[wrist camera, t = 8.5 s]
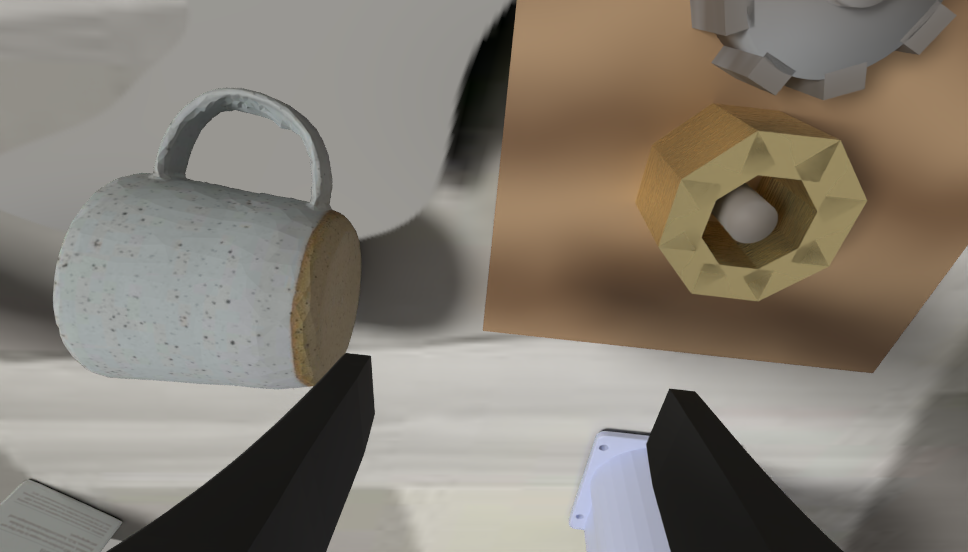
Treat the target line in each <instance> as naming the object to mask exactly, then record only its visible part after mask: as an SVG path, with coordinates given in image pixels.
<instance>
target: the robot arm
mask: <svg viewBox="0 0 968 552" xmlns="http://www.w3.org/2000/svg"><path fill="white" fill-rule="evenodd" d="M374 415H375V409H374V395H373V380H372V365H371V356H368V355H359V354H349V353H346V354H344V355H343V356H341V358H340V359H339V360H338V361H337V362H336V363H335V364H334V365H333V366H332V367H331V368H330V370H329V371H328V372H327V373H326V374H325V375H324V376H323V377H322V378H321V379H320V380H319V381H318V382H317V383H316V384H315V385H314V386H313V388H312V389H311V390H310V391H309V392H308V393H307V394H306V395H305V396H304V397H303V398H302V399H301V400H300V401H299V402H298V403H297V404H296V405H295V406H294V407H293V408H292V409H291V410H289V411H288V412H287V413H286V414H285V415H284V416H283V417H282V418H281V419H280V420H279V421H278V422H277V423H276V424H275V425H274V426H273V427H272V428H271V429H269V430H268V431H267V432H266V433H265V434H264V435H263V436H262V437H260V438H259V439H258V440H257V441H256V442H255V443H254V444H253V445H252V446H250V447H249V448H248V449H247V450H246V451H245V452H244V453H242V454H241V455H240V456H239V457H238V458H236V459H235V460H234V461H233V462H232V463H230V464H229V465H228V466H227V467H226V468H224V469H223V470H222V471H221V472H219V473H218V474H217V475H216V476H214V477H213V478H212V479H210V480H209V481H208V482H207V483H205V484H204V485H203V486H201V487H200V488H199V489H197V490H196V491H195V492H193V493H192V494H191V495H189V496H188V497H186V498H185V499H184V500H182V501H181V502H180V503H178V504H177V505H175V506H174V507H173V508H171V509H170V510H169V511H167V512H166V513H164V514H163V515H162V516H160V517H159V518H157V519H156V520H154V521H153V522H151V523H150V524H149V525H147V526H146V527H144V528H143V529H141V530H140V531H138V532H137V533H135V534H133V535H132V536H130V537H129V538H127V539H126V540H124V541H122V542H121V543H119V544H118V545H116V546H115V547H113V548H111V549H110V550H108V551H107V552H326V551H327V548H328V545H329V542H330V540H331V537H332V535H333V532H334V530H335V527H336V525H337V522H338V520H339V517H340V515H341V512H342V509H343V507H344V504H345V502H346V499H347V497H348V494H349V492H350V489H351V487H352V484H353V481H354V479H355V476H356V474H357V471H358V469H359V466H360V463H361V461H362V458H363V455H364V452H365V449H366V445H367V442H368V438H369V434H370V430H371V427H372V423H373V419H374ZM569 525H570V527H572V528H574V529H581V530H584V533H585V541H586V550H587V552H843V551H842V550H841V549H840V548H839V547H838V546H837V545H836V544H835V543H833V542H832V541H831V540H830V539H829V538H828V537H827V536H826V535H825V534H824V533H823V532H822V531H821V530H820V529H819V528H818V527H817V526H816V525H815V524H814V523H813V522H812V521H811V520H810V519H809V518H808V517H807V516H806V515H805V514H804V513H803V512H802V511H801V510H800V509H799V508H798V507H797V506H796V505H795V504H794V503H793V502H792V501H791V500H790V499H789V498H788V497H787V496H786V495H785V493H784V492H783V491H782V490H781V489H780V488H779V487H778V486H777V485H776V484H775V483H774V482H773V481H772V479H771V478H770V477H769V476H768V475H767V474H766V473H765V472H764V471H763V470H762V468H761V467H760V466H759V465H758V464H757V463H756V462H755V461H754V459H753V458H752V457H751V456H750V455H749V454H748V453H747V451H746V450H745V449H744V448H743V447H742V446H741V445H740V443H739V442H738V441H737V440H736V439H735V438H734V436H733V435H732V434H731V433H730V432H729V431H728V429H727V428H726V427H725V426H724V425H723V423H722V422H721V421H720V420H719V419H718V418H717V416H716V415H715V414H714V413H713V412H712V410H711V409H710V408H709V407H708V406H707V405H706V403H705V402H704V401H703V400H702V399H701V398H700V397H699V395H698V394H697V393H696V392H695V391H686V390H677V389H669V391H668V393H667V396H666V398H665V400H664V403H663V405H662V408H661V410H660V412H659V415H658V417H657V419H656V422H655V424H654V427H653V429H652V431H651V434H650V436H647V435H638V434H629V433H620V432H611V431H602V432H599V433H598V434H597V435H596V437H595V440H594V443H593V447H592V450H591V453H590V456H589V459H588V462H587V465H586V468H585V471H584V474H583V477H582V480H581V483H580V486H579V489H578V493H577V496H576V499H575V502H574V505H573V508H572V511H571V514H570V517H569Z"/></svg>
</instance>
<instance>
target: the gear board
mask: <svg viewBox="0 0 968 552" xmlns="http://www.w3.org/2000/svg"><path fill="white" fill-rule="evenodd" d="M712 103H715V104H724V105H733V106H742V107H751V108H760V109H769V110H778V111H781V112H783V113H785V114H787V115H789V116H791V117H794V118H796V119H798V120H800V121H802V122H804V123H806V124H808V125H810V126H812V127H814V128H816V129H819V130H821V131H823V132H825V133H827V134H829V135H831V136H833V137H835V138H837V139H839V140H841V142H842V145H843V147H844V149H845V151H846V154H847V156H848V158H849V160H850V163H851V165H852V167H853V169H854V172H855V174H856V176H857V179H858V181H859V183H860V185H861V188H862V190H863V192H864V194H865V197H866V199H867V202H866V204H865V206H864V207H863V209H862V211H861V213H860V214H859V216H858V218H857V219H856V221H855V223H854V225H853V226H852V228H851V230H850V231H849V233H848V235H847V237H846V238H845V240H844V242H843V243H842V245H841V247H840V249H839V250H838V252H837V254H836V255H835V257H834V259H833V261H832V262H831V264H830V266H829V267H827V268H825V269H823V270H821V271H819V272H817V273H815V274H813V275H811V276H809V277H807V278H805V279H803V280H801V281H799V282H797V283H794V284H792V285H790V286H788V287H786V288H784V289H782V290H780V291H778V292H776V293H774V294H772V295H770V296H768V297H766V298H764V299H762V300H760V301H751V300H742V299H733V298H725V297H716V296H707V295H699V294H691V292H690V291H689V290H688V288H687V287H686V285H685V284H684V283H683V281H682V280H681V278H680V277H679V276H678V274H677V273H676V271H675V270H674V269H673V267H672V266H671V264H670V263H669V261H668V260H667V259H666V257H665V256H664V254H663V253H662V252H661V250H660V249H659V247H658V246H657V244H656V242H655V240H654V238H653V236H652V234H651V232H650V230H649V229H648V227H647V225H646V223H645V221H644V219H643V217H642V215H641V213H640V211H639V209H638V208H637V206H636V204H635V202H636V198H637V195H638V191H639V188H640V185H641V181H642V178H643V174H644V171H645V167H646V164H647V160H648V157H649V154H650V150H651V147H652V144H654V143H655V142H657V141H658V140H660V139H661V138H663V137H664V136H666V135H667V134H668V133H670V132H671V131H673V130H674V129H676V128H677V127H679V126H680V125H682V124H683V123H684V122H686V121H687V120H689V119H690V118H692V117H693V116H695V115H696V114H698V113H699V112H701V111H702V110H703V109H705V108H706V107H708V106H709V105H711V104H712ZM761 178H762V176H761V175H757V176H756V177H754V178H752V179H751V180H749V181H747V182H746V183H744V184H742V185H741V186H739V187H737V188H736V189H734V190H732V191H731V192H729V193H727V194H726V195H724V196H722V197H721V198H719V199H717V200H716V202H715V204H714V207H713V209H712V212H711V214H710V217H709V220H708V221H714V222H720V223H721V225H722V226H723V227H724V228H725V229H726V231H727V232H728V233H729V234H730V235H731V236H732V238H733V239H734V240H736V241H738V242H740V243H755V242H758V241H760V240H762V239H764V238H766V237H767V236H768V235H769V234H770V233H771V232H772V231H773V230H774V228H775V227H776V224H777V221H778V214H777V211H776V210H775V208H774V207H773V206H772V205H770V204H769V203H768V202H767V201H766V200H765V199H764V198H762V197H761V196H760V195H759V194H758V193H757V192H756V190H757V188H758V185H759V183H760V181H761ZM967 245H968V0H517V5H516V15H515V25H514V34H513V44H512V54H511V63H510V73H509V83H508V92H507V102H506V112H505V121H504V131H503V140H502V150H501V160H500V169H499V179H498V189H497V198H496V208H495V218H494V227H493V237H492V247H491V256H490V266H489V276H488V285H487V295H486V305H485V314H484V324H483V331H490V332H500V333H509V334H518V335H527V336H536V337H545V338H555V339H564V340H573V341H582V342H591V343H601V344H610V345H619V346H628V347H637V348H646V349H656V350H665V351H674V352H683V353H692V354H702V355H711V356H720V357H729V358H738V359H747V360H757V361H766V362H775V363H784V364H793V365H803V366H812V367H821V368H830V369H839V370H849V371H858V372H867V373H873V372H874V371H875V370H876V368H877V367H878V366H879V364H880V363H881V362H882V360H883V359H884V357H885V356H886V355H887V353H888V352H889V351H890V349H891V348H892V347H893V345H894V344H895V343H896V341H897V340H898V339H899V337H900V336H901V334H902V333H903V332H904V330H905V329H906V328H907V326H908V325H909V324H910V322H911V321H912V320H913V318H914V317H915V316H916V314H917V313H918V312H919V310H920V309H921V307H922V306H923V305H924V303H925V302H926V301H927V299H928V298H929V297H930V295H931V294H932V293H933V291H934V290H935V289H936V287H937V286H938V284H939V283H940V282H941V280H942V279H943V278H944V276H945V275H946V274H947V272H948V271H949V270H950V268H951V267H952V266H953V264H954V263H955V262H956V260H957V259H958V257H959V256H960V255H961V253H962V252H963V251H964V249H965V248H966V247H967Z"/></svg>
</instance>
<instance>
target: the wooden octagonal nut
mask: <svg viewBox="0 0 968 552" xmlns="http://www.w3.org/2000/svg"><path fill="white" fill-rule="evenodd" d="M757 175H761V176H762V178H761V181H760V183H759V185H758V188H757V190H756V192H757V193H758V194H759V195H760V196H761V197H762V198H764V199H765V200H766V201H767V202H768V203H769V204H770V205H772V206H773V207H774V208H775V210H776V211H777V214H778V221H777V224H776V227H775V228H774V230H773V231H772V232H771V233H770V234H769V235H768V236H767V237H766V238H764V239H762V240H760V241H758V242H755V243H740V242H738V241H736V240H734V239H733V238H732V236H731V235H730V234H729V233H728V232H727V231H726V229H725V228H724V227H723V226H722V225H721V223H720V222H714V221H708V220H709V217H710V214H711V212H712V209H713V207H714V204H715V202H716V200H717V199H719V198H721V197H722V196H724V195H726V194H727V193H729V192H731V191H732V190H734V189H736V188H737V187H739V186H741V185H742V184H744V183H746V182H747V181H749V180H751V179H752V178H754V177H756V176H757ZM866 202H867V199H866V197H865V194H864V192H863V190H862V188H861V185H860V183H859V181H858V179H857V176H856V174H855V172H854V169H853V167H852V165H851V163H850V160H849V158H848V156H847V154H846V151H845V149H844V147H843V145H842V142H841V140H839V139H837V138H835V137H833V136H831V135H829V134H827V133H825V132H823V131H821V130H819V129H816V128H814V127H812V126H810V125H808V124H806V123H804V122H802V121H800V120H798V119H796V118H794V117H791V116H789V115H787V114H785V113H783V112H781V111H778V110H769V109H760V108H751V107H742V106H733V105H724V104H715V103H712V104H711V105H709V106H708V107H706V108H705V109H703V110H702V111H701V112H699V113H698V114H696V115H695V116H693V117H692V118H690V119H689V120H687V121H686V122H684V123H683V124H682V125H680V126H679V127H677V128H676V129H674V130H673V131H671V132H670V133H668V134H667V135H666V136H664V137H663V138H661V139H660V140H658V141H657V142H655V143H654V144H652V147H651V150H650V154H649V157H648V160H647V164H646V167H645V171H644V174H643V178H642V181H641V185H640V188H639V191H638V195H637V198H636V202H635V204H636V206H637V208H638V209H639V211H640V213H641V215H642V217H643V219H644V221H645V223H646V225H647V227H648V229H649V230H650V232H651V234H652V236H653V238H654V240H655V242H656V244H657V246H658V247H659V249H660V250H661V252H662V253H663V254H664V256H665V257H666V259H667V260H668V261H669V263H670V264H671V266H672V267H673V269H674V270H675V271H676V273H677V274H678V276H679V277H680V278H681V280H682V281H683V283H684V284H685V285H686V287H687V288H688V290H689V291H690V292H691V294H699V295H707V296H716V297H725V298H733V299H742V300H751V301H760V300H762V299H764V298H766V297H768V296H770V295H772V294H774V293H776V292H778V291H780V290H782V289H784V288H786V287H788V286H790V285H792V284H794V283H797V282H799V281H801V280H803V279H805V278H807V277H809V276H811V275H813V274H815V273H817V272H819V271H821V270H823V269H825V268H827V267H829V266H830V264H831V262H832V261H833V259H834V257H835V255H836V254H837V252H838V250H839V249H840V247H841V245H842V243H843V242H844V240H845V238H846V237H847V235H848V233H849V231H850V230H851V228H852V226H853V225H854V223H855V221H856V219H857V218H858V216H859V214H860V213H861V211H862V209H863V207H864V206H865V204H866Z"/></svg>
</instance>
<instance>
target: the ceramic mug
mask: <svg viewBox="0 0 968 552" xmlns="http://www.w3.org/2000/svg"><path fill="white" fill-rule="evenodd" d="M233 110H238V111H242V112H246V113H251V114H255V115H259V116H262V117H265V118H268V119H271V120H273V121H274V122H275V123H276V124H277V125H278V126H279V127H280V128H284V129H289V130H292V131H293V132H295V133H296V134H299V135H300V137H301V139H302V140H303V142H304V144H305V147H306V150H307V152H308V155H309V157H310V161H311V163H310V165H311V174H312V187H311V193H312V197H311V200H310V202H306V201H301V200H296V199H294V198H285V197H278V196H274V195H270V194H265V193H260V194H258V193H252V192H248V191H243V190H239V189H234V188H229V187H225V186H221V185H216V184H209V183H207V182H205V183H203V182H200V181H193V180H190V179H187V178H186V177H185V172H186V168H187V165H188V160H189V157H190V154H191V151H192V149H193V146H194V144H195V142H196V140H197V138H198V136H199V134H200V132H201V130H202V129H203V128H204V127H205V125H206V124H207V123H208V122H209V121H210V120H211V119H212V118H213V117H215V116H216V115H218V114H219V113H220V112H224V111H233ZM331 191H332V174H331V167H330V161H329V155H328V152H327V150H326V147H325V145H324V142H323V140H322V138H321V137H320V135H319V133H318V131H317V129H316V128H315V127H314V126H313V125H312V124H311V123H310V122H309V121H308V120H307V118H305V117H304V116H303V115H301V114H300V113H299V112H297V111H296V110H295V109H293V108H292V107H291V106H289V105H287V104H285V103H283V102H281V101H279V100H276V99H274V98H272V97H269V96H267V95H265V94H262V93H259V92H255V91H251V90H247V89H242V88H222V89H221V88H220V89H219V88H218V89H215V90H212V91H209V92H206V93H203V94H202V95H200V96H198V97H197V98H195V99H194V100H192V101H191V102H190V103H189V104H187V105H186V106H185V107H184V108H183V109H181V111H180V112H179V113H178V114H177V116H176V117H175V118H174V120H173V121H172V122H171V124H170V126H169V128H168V129H167V131H166V133H165V135H164V137H163V139H162V142H161V145H160V148H159V151H158V154H157V157H156V162H155V166H154V171H153V174H150V173H139V174H133V175H130V176H126V177H121V178H118V179H115V180H113V181H112V182H110V183H109V184H107V185H105V186H104V187H102V188H101V189H99V190H98V191H96V192H95V193H94V194H93V195H92V197H91V198H90V199H89V200H88V201H87V202H86V203H85V204H84V205H83V207H82V208H81V210H80V211H79V213H78V214H77V216H76V217H75V219H74V220H73V221H72V223H71V225H70V227H69V230H68V232H67V234H66V236H65V238H64V240H63V244H62V247H61V250H60V253H59V257H58V260H57V265H56V271H55V278H54V290H53V307H54V314H55V320H56V324H57V326H58V327H59V330H60V337H61V339H62V341H63V343H64V345H65V347H66V348H67V349H68V351H69V352H70V354H71V355H72V356H73V358H74V359H76V360H77V361H78V362H79V363H80V364H81V365H82V366H83V367H84V368H86V369H88V370H90V371H91V372H93V373H96V374H100V375H103V376H106V377H111V378H125V379H142V380H159V381H173V382H185V383H197V384H215V385H234V386H243V387H252V388H266V389H288V388H299V387H309V386H314V385H315V384H316V383H317V382H318V381H319V380H320V379H321V378H322V377H323V376H324V375H325V374H326V373H327V372H328V371H329V370H330V368H331V367H332V366H333V365H334V364H335V363H336V362H337V361H338V360H339V359H340V358H341V356H343V355H344V354H345V353H346V350H347V348H348V345H349V342H350V339H351V335H352V331H353V327H354V323H355V318H356V313H357V308H358V301H359V294H360V283H361V251H360V243H359V239H358V236H357V233H356V230H355V229H354V227H353V226H352V224H351V223H350V221H349V220H348V219H347V218H346V217H345V216H344V215H342V214H341V213H339V212H336V211H334V210H332V209H331V207H330V205H329V203H330V198H331Z"/></svg>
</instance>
